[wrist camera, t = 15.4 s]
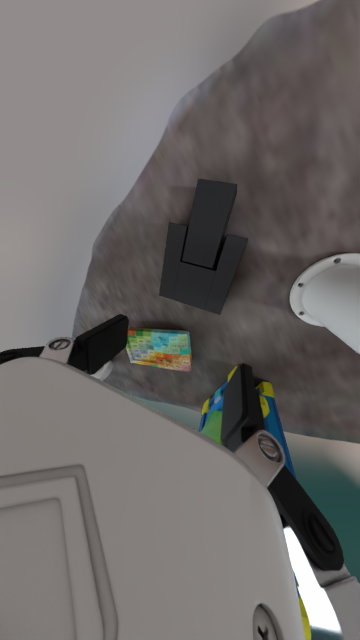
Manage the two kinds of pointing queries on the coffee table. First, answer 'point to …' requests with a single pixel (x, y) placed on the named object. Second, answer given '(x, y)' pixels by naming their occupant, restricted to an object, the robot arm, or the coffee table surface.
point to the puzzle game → (160, 348)
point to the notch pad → (198, 272)
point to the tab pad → (208, 221)
